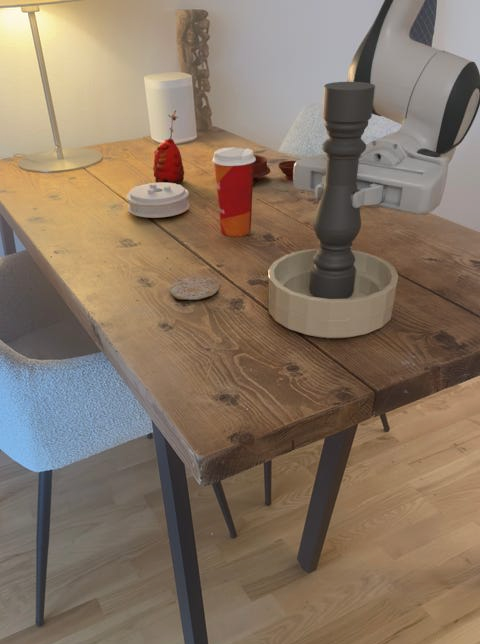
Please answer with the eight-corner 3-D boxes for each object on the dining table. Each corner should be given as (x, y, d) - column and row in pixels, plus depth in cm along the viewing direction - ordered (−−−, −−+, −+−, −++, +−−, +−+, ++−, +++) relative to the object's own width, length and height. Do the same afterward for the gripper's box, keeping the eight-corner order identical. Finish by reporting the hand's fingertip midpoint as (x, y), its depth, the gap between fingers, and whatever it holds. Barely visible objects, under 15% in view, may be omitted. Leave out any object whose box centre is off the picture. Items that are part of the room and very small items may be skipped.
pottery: (219, 174, 138) (218, 154, 135) (300, 170, 139) (301, 151, 136) (222, 188, 129) (221, 167, 126) (308, 184, 130) (309, 164, 127)
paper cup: (227, 222, 111) (224, 144, 103) (262, 227, 109) (262, 148, 100) (208, 235, 106) (203, 155, 97) (244, 241, 103) (243, 159, 94)
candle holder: (353, 282, 81) (377, 81, 65) (353, 302, 77) (377, 90, 61) (310, 280, 82) (323, 81, 66) (307, 299, 77) (319, 90, 62)
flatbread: (183, 277, 91) (183, 271, 91) (227, 284, 89) (226, 278, 88) (160, 299, 85) (159, 293, 85) (206, 306, 83) (205, 300, 82)
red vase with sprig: (156, 178, 136) (148, 108, 127) (185, 177, 136) (180, 107, 127) (153, 187, 130) (145, 114, 121) (184, 186, 130) (178, 113, 121)
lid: (200, 214, 115) (198, 189, 112) (143, 226, 110) (139, 200, 107) (173, 198, 124) (171, 174, 121) (119, 209, 119) (116, 184, 116)
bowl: (379, 284, 88) (384, 246, 84) (403, 342, 74) (411, 300, 71) (266, 286, 88) (266, 249, 85) (270, 343, 75) (270, 302, 71)
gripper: (324, 137, 82) (268, 158, 74) (461, 158, 72) (414, 184, 64) (321, 182, 86) (267, 207, 78) (450, 208, 76) (405, 239, 68)
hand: (335, 197), depth 71 cm, fingers closed on candle holder, 3 cm apart
